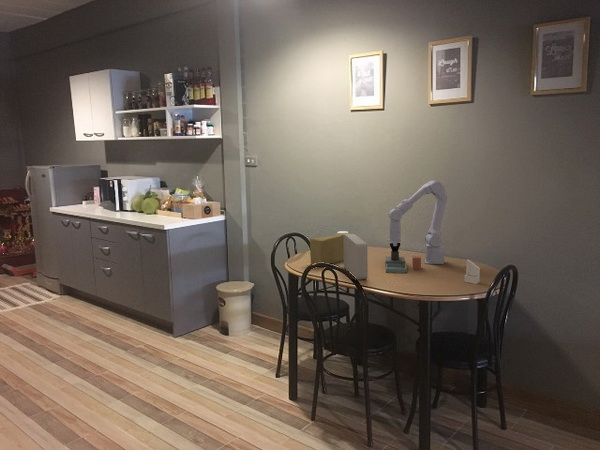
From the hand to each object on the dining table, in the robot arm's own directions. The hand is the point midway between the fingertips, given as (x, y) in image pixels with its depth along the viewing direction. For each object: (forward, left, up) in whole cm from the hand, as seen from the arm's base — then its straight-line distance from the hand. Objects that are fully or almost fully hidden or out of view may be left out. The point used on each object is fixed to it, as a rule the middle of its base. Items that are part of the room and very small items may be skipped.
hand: (394, 256), depth 271 cm
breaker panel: (0, +2, -4) cm, 4 cm away
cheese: (+35, 0, -4) cm, 35 cm away
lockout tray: (-1, +13, -4) cm, 14 cm away
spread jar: (+30, -27, -4) cm, 41 cm away
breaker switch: (0, +3, -1) cm, 3 cm away
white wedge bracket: (-35, +32, -4) cm, 47 cm away
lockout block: (-11, +9, -4) cm, 15 cm away
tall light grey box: (+20, +21, -4) cm, 29 cm away
